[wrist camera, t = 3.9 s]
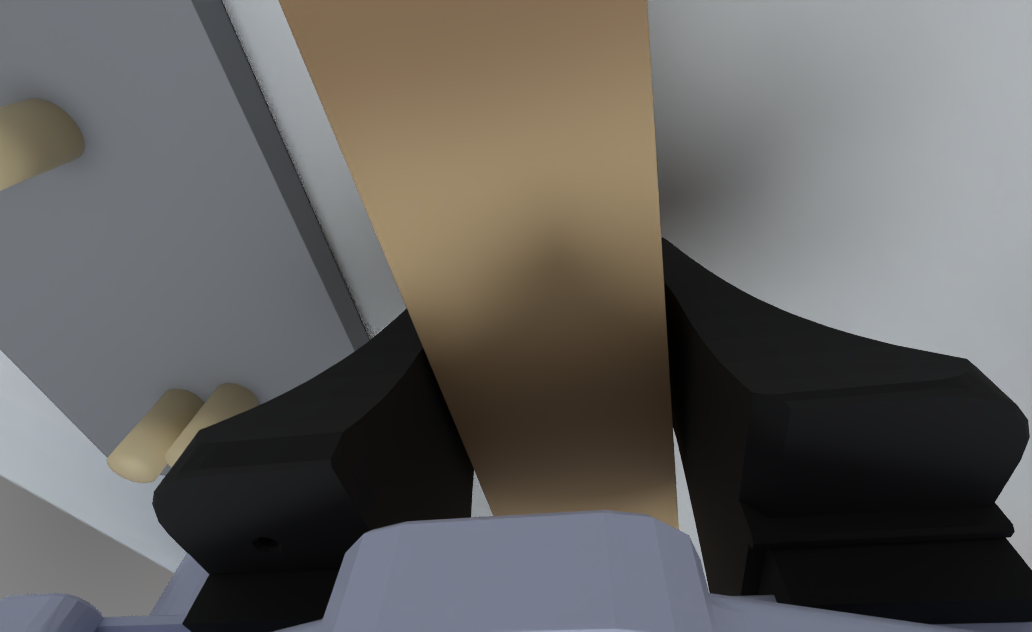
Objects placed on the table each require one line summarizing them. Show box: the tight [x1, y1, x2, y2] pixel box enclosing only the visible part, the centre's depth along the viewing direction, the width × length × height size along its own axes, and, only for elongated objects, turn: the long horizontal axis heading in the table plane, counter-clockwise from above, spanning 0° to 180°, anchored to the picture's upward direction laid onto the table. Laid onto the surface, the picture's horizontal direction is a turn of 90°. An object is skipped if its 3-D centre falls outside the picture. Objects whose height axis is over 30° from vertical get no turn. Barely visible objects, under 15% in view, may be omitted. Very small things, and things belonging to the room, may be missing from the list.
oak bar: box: [279, 0, 679, 530], centre depth 11 cm, size 14×4×6 cm, turn 13°
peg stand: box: [0, 0, 370, 483], centre depth 15 cm, size 18×13×4 cm
